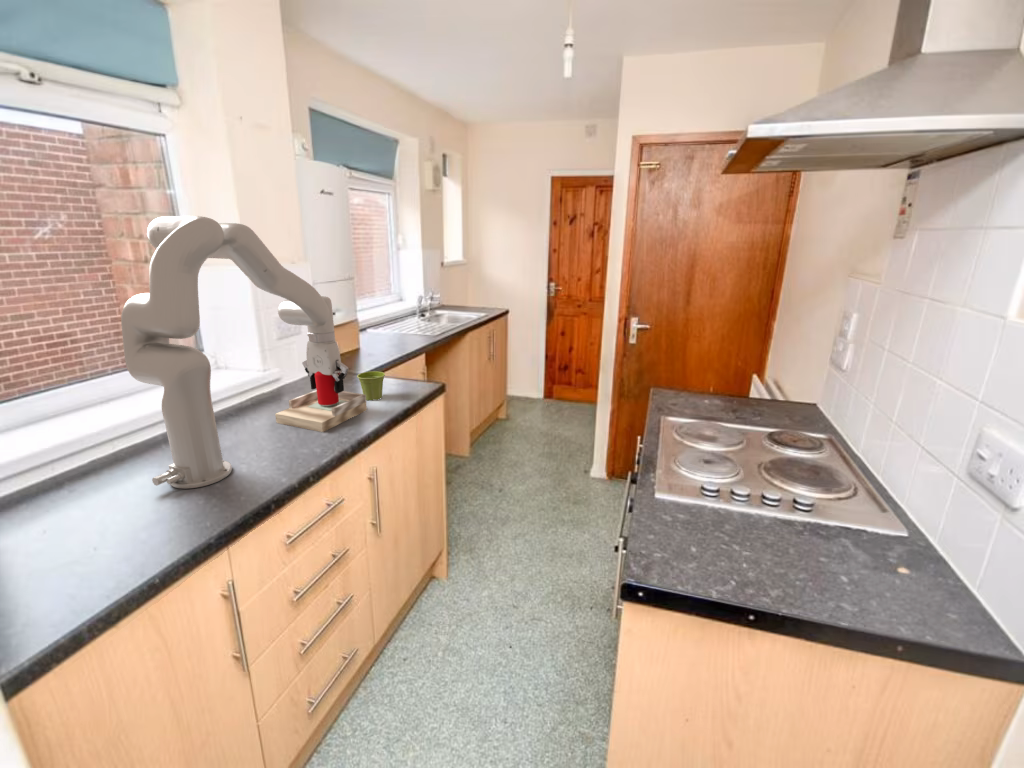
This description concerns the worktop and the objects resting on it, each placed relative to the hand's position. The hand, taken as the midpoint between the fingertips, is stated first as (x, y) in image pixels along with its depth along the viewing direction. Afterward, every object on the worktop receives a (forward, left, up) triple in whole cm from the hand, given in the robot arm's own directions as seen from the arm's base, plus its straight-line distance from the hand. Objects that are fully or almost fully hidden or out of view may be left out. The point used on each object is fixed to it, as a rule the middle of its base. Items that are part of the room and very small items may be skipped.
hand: (327, 390), depth 151 cm
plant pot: (+18, -3, -8) cm, 20 cm away
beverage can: (0, 0, -5) cm, 5 cm away
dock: (-3, 0, -8) cm, 8 cm away
